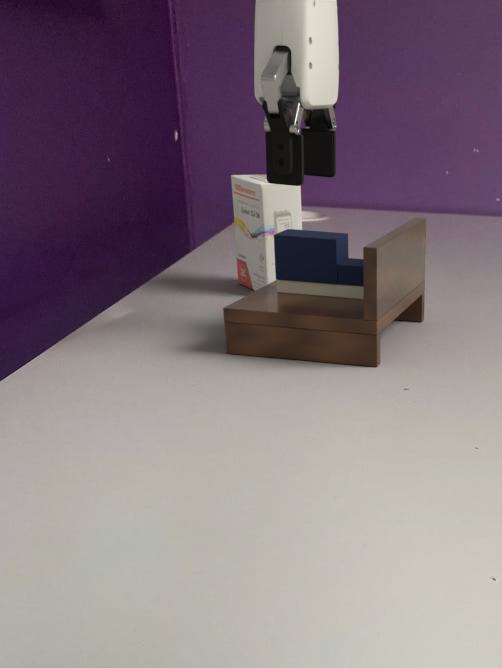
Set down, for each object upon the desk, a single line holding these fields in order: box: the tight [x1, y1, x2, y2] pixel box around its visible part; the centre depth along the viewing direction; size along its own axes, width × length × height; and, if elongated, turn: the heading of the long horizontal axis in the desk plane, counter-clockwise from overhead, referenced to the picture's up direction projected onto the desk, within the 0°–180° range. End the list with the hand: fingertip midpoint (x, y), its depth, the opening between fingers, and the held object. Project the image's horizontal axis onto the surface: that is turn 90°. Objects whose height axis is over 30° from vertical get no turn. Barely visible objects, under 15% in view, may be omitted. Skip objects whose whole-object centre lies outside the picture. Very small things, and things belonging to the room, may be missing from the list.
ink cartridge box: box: [230, 173, 303, 292], centre depth 116 cm, size 9×5×15 cm, turn 34°
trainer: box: [274, 229, 364, 299], centre depth 98 cm, size 9×4×5 cm, turn 81°
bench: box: [222, 217, 427, 368], centre depth 99 cm, size 14×20×10 cm
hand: (302, 180), depth 94 cm, fingers open, 9 cm apart
